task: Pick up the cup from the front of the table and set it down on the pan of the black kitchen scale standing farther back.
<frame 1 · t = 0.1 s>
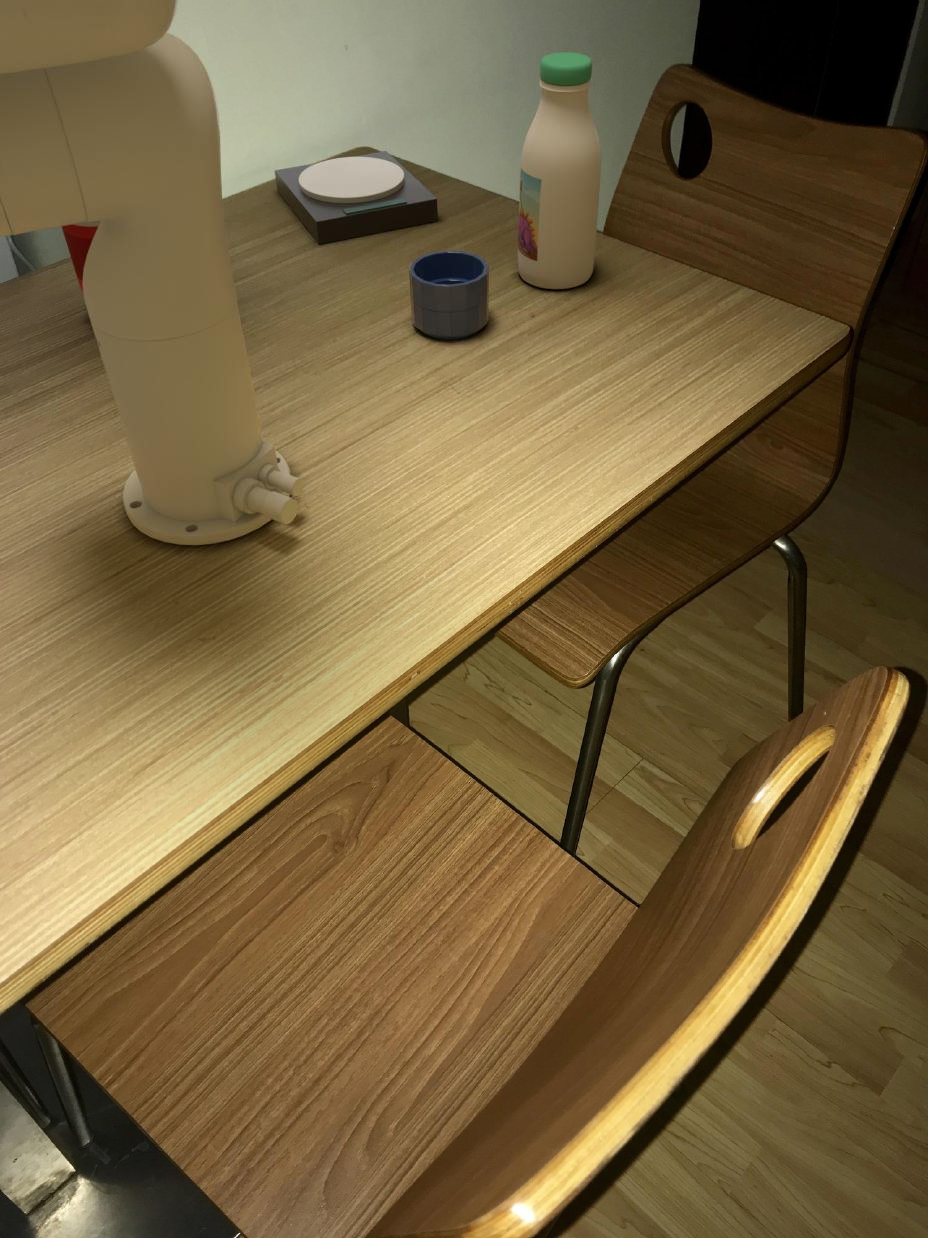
kitchen scale: (355, 205, 115), on the table
cup: (450, 322, 95), on the table
milk bottle: (555, 275, 102), on the table
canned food: (131, 316, 97), on the table
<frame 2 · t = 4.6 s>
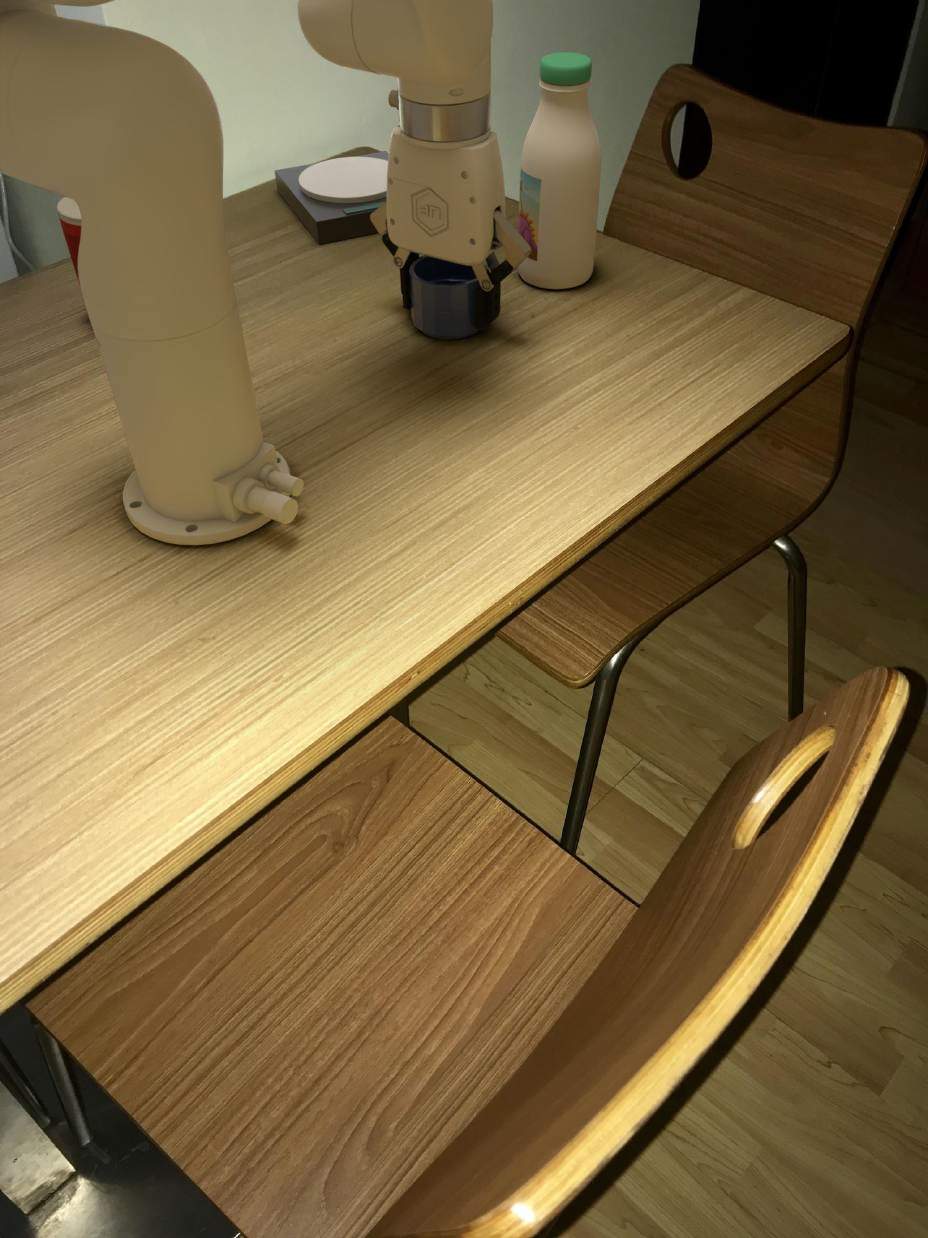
hand: (450, 312, 94), 1 cm above the table, tool pointing down, fingers closed on cup, 7 cm apart
cup: (450, 322, 95), on the table, touching gripper
everything else where it was.
when the fingers open (4 cm above the table, at t = 12.0 s): cup stays where it is, resting on kitchen scale.
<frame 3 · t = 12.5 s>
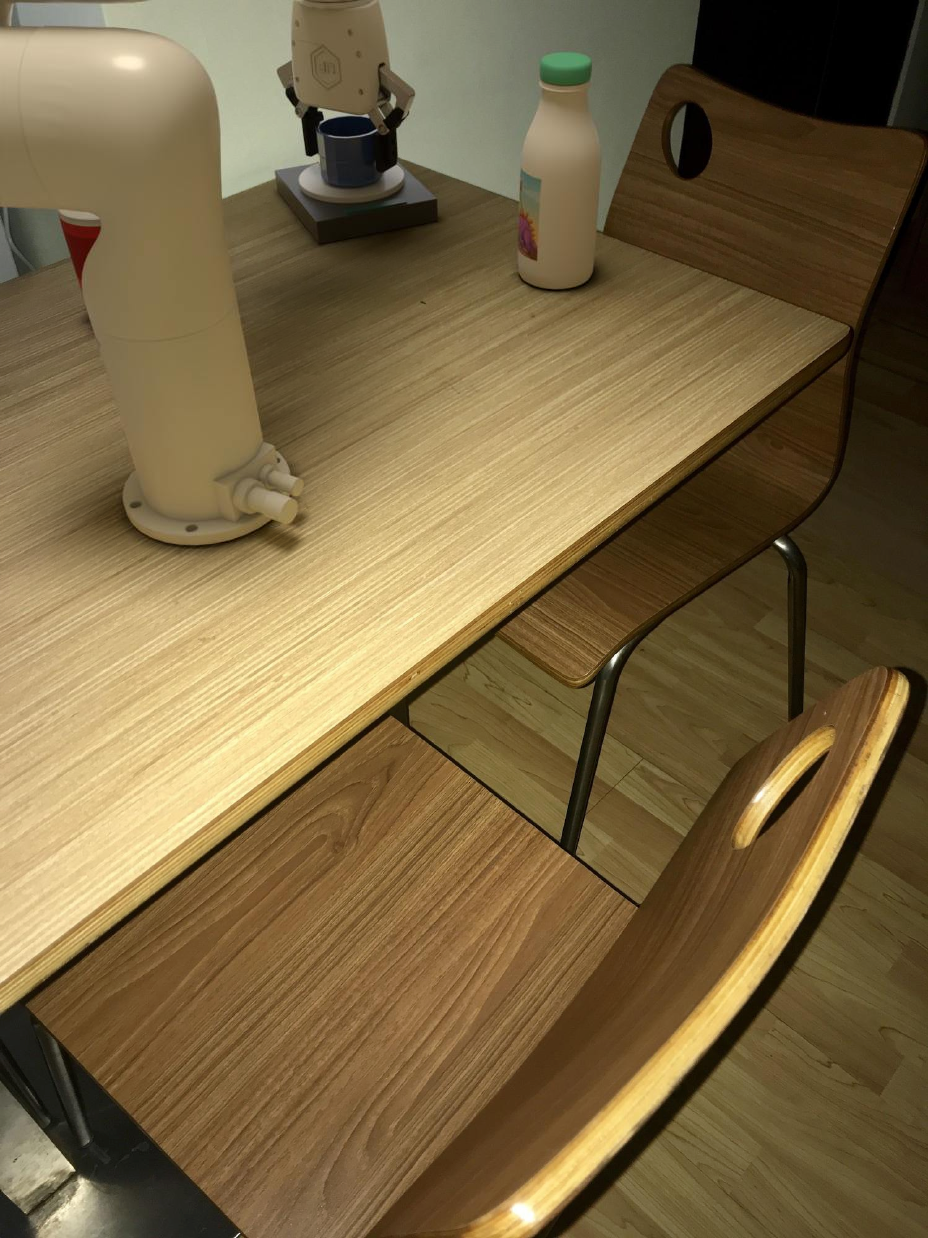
hand: (351, 160, 111), 5 cm above the table, tool pointing down, fingers open, 9 cm apart
cup: (353, 177, 112), point 3 cm above the table, touching kitchen scale
everything else where it was.
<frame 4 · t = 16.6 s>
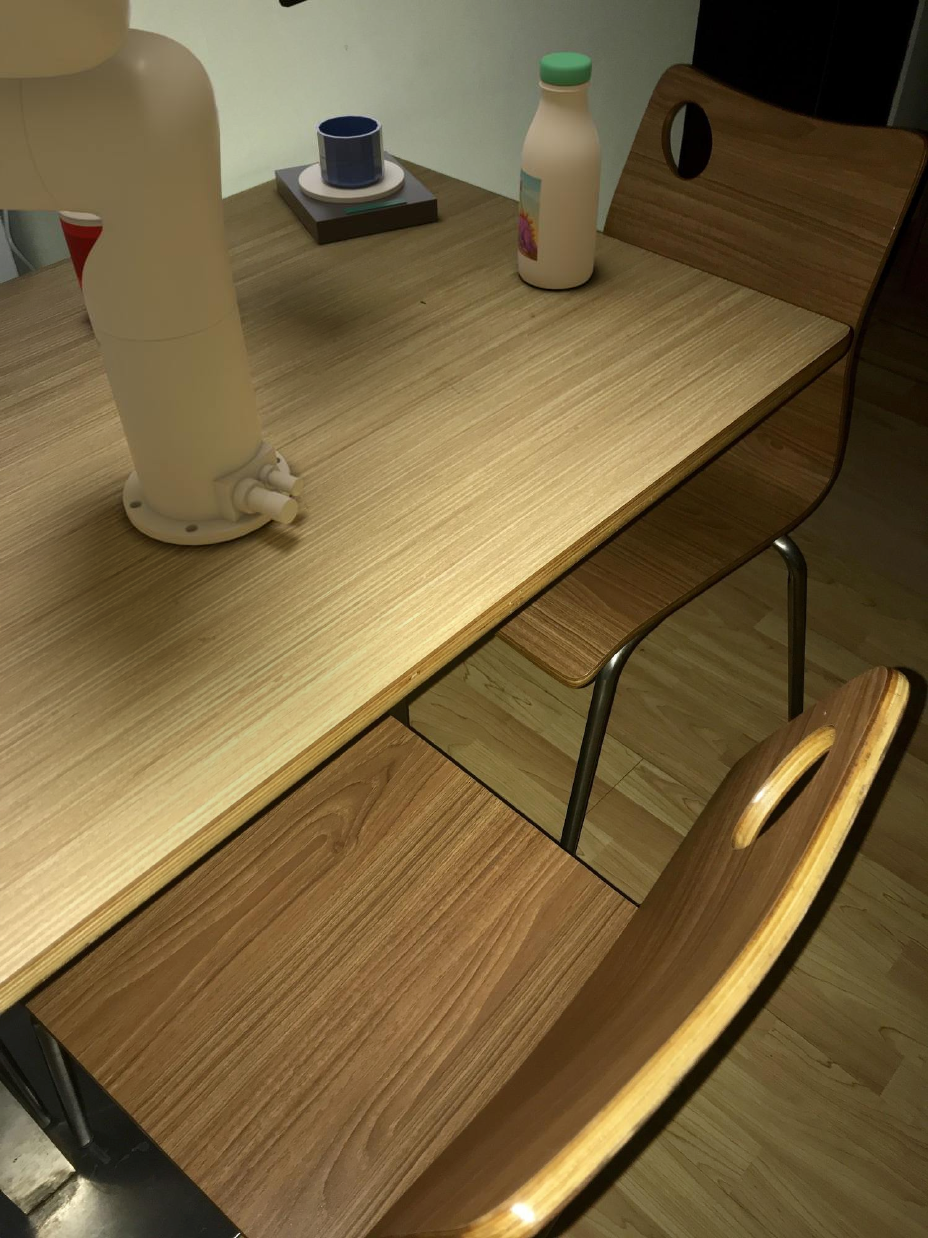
nothing on the table moved.
at the end: cup inside the target area on the kitchen scale (0.0 cm from its centre), point 3.2 cm above the kitchen scale's base; cup tilted 0°; the gripper is holding nothing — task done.
